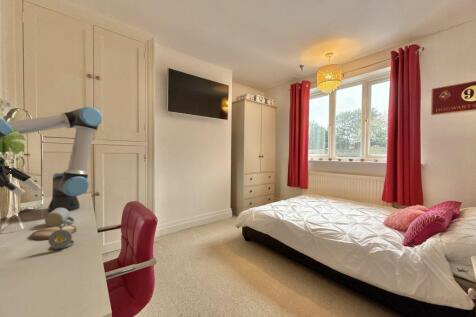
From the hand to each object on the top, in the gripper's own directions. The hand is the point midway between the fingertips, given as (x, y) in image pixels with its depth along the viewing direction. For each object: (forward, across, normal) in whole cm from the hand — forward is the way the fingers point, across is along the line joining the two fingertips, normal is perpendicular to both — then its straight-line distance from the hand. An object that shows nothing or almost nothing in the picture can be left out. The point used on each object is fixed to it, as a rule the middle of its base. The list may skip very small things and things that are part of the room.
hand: (30, 191), depth 95 cm
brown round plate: (+22, +13, -2) cm, 26 cm away
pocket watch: (+28, +31, +4) cm, 41 cm away
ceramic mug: (+20, 0, -4) cm, 21 cm away
